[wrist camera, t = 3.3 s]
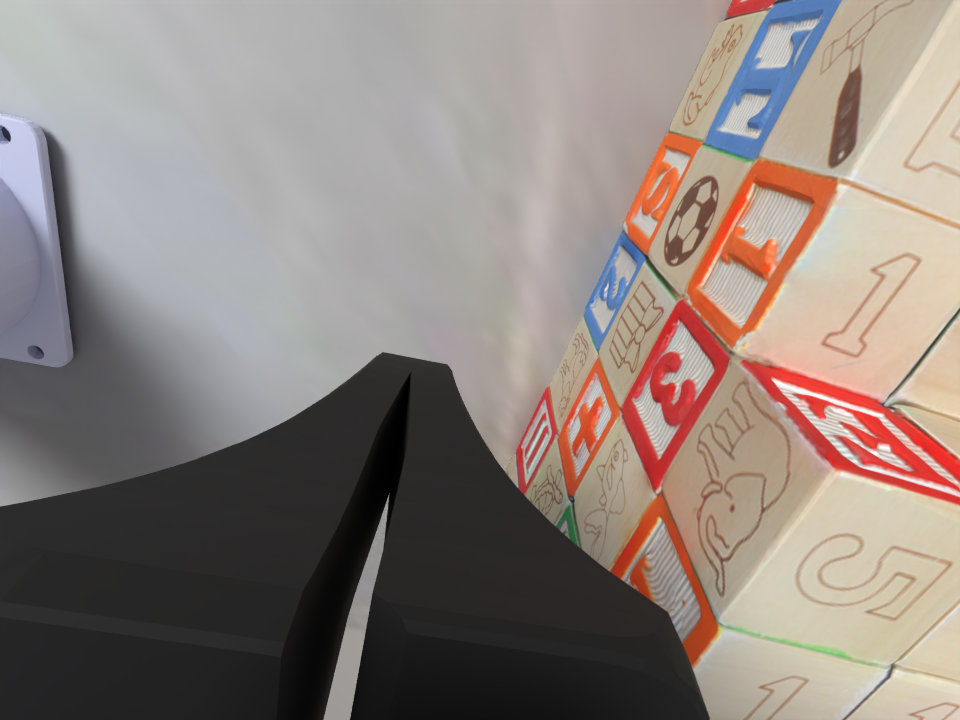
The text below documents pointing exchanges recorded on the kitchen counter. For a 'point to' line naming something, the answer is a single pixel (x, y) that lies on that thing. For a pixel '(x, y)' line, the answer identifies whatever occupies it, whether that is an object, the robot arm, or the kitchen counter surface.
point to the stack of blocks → (784, 370)
